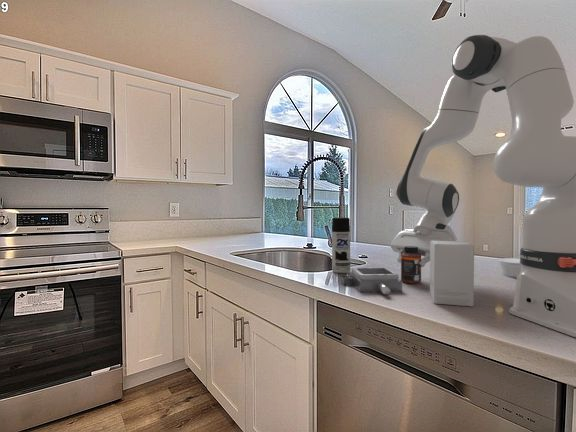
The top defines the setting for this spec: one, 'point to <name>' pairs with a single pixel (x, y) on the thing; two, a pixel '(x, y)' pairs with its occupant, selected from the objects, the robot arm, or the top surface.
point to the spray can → (341, 245)
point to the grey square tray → (373, 280)
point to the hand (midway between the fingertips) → (409, 263)
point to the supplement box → (452, 272)
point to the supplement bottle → (410, 265)
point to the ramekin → (510, 266)
